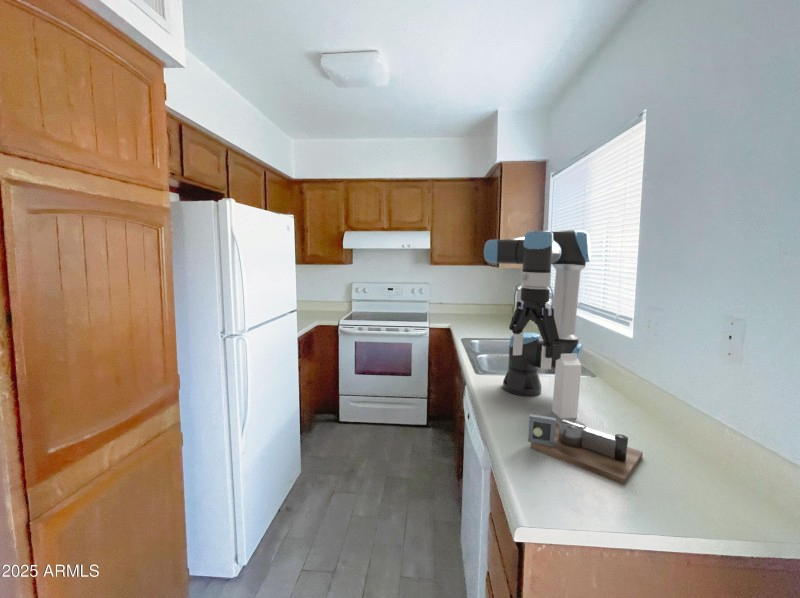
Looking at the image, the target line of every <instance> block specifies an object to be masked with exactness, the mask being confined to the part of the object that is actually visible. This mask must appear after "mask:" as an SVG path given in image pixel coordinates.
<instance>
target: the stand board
mask: <svg viewBox="0 0 800 598" xmlns="http://www.w3.org/2000/svg"><path fill="white" fill-rule="evenodd" d="M559 425H560V423H557V422H556V426H555V439H554V447H553V446H548V445H543V444H537V443H532V442H530V449H533V450H534V451H535V450H536V451H538V452H540V453H542V454H545V455H548V456H550V457H553V458H555V459H557V460H560V461H563V462H566V463H568V464H570V465H573V466H576V467H578V468H580V469H582V470H586V471H587V472H590V473H594V474H596V475H598V476H601V477H603V478H606V479H608V480H610V481H613V482H616V483H618V484H620V485H623V486H624V485H625V484H626V483H627V481H628V479H629V478H630V477H631V475H632V473H633V472H634V470H635V469H636V467H637V466H638V464H639V463H640V461H641V460H642V458H643V453H644V452H643V451H641V450H639V449H635V448H632V447H629V446H627V454H626V461H619V460H616V459H614V458H612V457H609V456H606V455H603V454H601V453H598V452H595V451H592V450H589V449H587V448H584V447H571V446H567V445H565V444H563V443H561V442H560V441H559V439H558V438H559Z"/></svg>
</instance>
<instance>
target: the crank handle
mask: <svg viewBox="0 0 800 598" xmlns="http://www.w3.org/2000/svg"><path fill="white" fill-rule="evenodd" d="M559 424H560V425H559V438H558V439H559V441H560V442H561V443H563V444H565V445H567V446H571V447H584V448H587V449H589V450H592V451H595V452H598V453H601V454H603V455H606V456H609V457H612V458H614V459H616V460H619V461H626V454H627V447H628V442H629V438H628V436H626V435H623V434H621V433H616V434H615V435H611V434H608V433H605V432H602V431H599V430H597V429H593V428H589V427H587V426H586V424H584V423H583V422H581V421H578V420H575V419H571V418H570V419H560V421H559Z"/></svg>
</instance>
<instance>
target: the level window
mask: <svg viewBox="0 0 800 598" xmlns="http://www.w3.org/2000/svg"><path fill="white" fill-rule="evenodd" d="M528 418H529V419H528V420H529V421H528V435H527V442H529V443H531V442H532V443H537V444H543V445H548V446H553V447H554V439H555V426H556V423H557V418H556V417H552V416H551V417H550V416H544V415H538V414H532V413H529V417H528Z"/></svg>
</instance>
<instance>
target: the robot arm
mask: <svg viewBox="0 0 800 598" xmlns="http://www.w3.org/2000/svg"><path fill="white" fill-rule="evenodd" d="M591 248H592V246H591V238H590V235H589V233H588V232H587V231H586V230H576V229H574V230H571V229H570V230H531V231H527V232H525V234H524V235H523V236H521V237H516V238H507V239H506V238H505V239H497V238H495V239H488V240H487V241H486V242H485V243H484V248H483V257H484V261H485V262H487V264H488V263H489V264H494V265H495V264H498V265H499V264H503V265H504V264H505V265H506V264H507V265H508V264H509V265H513V264H514V265H522V275H521V286H523V287H522V288H521V289H520V300H521V301H516V307H515V310H514V313H513V316H512V319H511V321H510V323H509V327H508V328H509V331H510V330H511V331H512V333H513V335H511V336H510V338H509V345H508V364H507V365H508V366H507V367H508V368H507V371H506V373H505V376H504V379H503V381H502V389H503V390H504V391H506V392H507V393H511V394H513V395H518V396H524V397H526V396H528V397H534V396H538V395H540V394H541V393H542V383H541V379H540V376H539V369H540V370H551V371H555V367H556V360H558V359H560V358H561V354H577V359H578V360H579V361H580V360H581V355H582V352H583V344H582V343H579V337H578V336H577V335H576V333H575V332H576V322H577V313H578V312H577V311H578V301H579V299H578V298H579V291H580V290H579V288H580V281H581V272H582V270H583V269H585V268H586V263H590V262H591V259H592V258H591V257H592V249H591ZM552 266H553V268H554V269H555V278H554V289H553V298H552V299H553V300H552V307H547V306H546V303H548V302H549V301H550V289H549V288H550V287H551V281H552ZM530 321H531V322H534V324H536V326H537V328H538V332H539V333H537V332H524V329H525V328H526V326H527V325H528V323H529V322H530Z"/></svg>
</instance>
